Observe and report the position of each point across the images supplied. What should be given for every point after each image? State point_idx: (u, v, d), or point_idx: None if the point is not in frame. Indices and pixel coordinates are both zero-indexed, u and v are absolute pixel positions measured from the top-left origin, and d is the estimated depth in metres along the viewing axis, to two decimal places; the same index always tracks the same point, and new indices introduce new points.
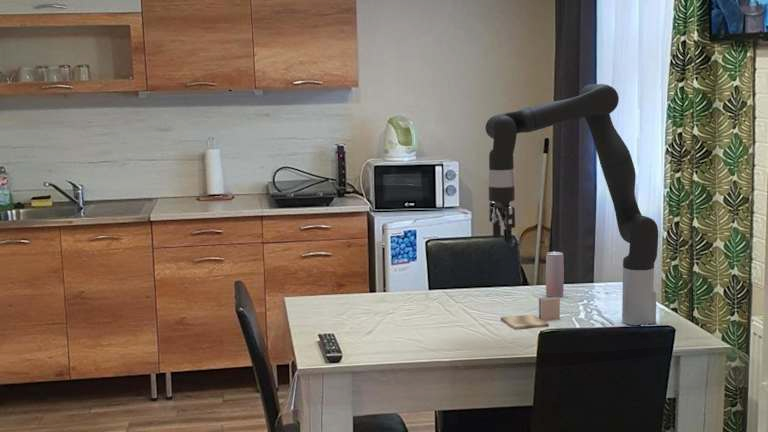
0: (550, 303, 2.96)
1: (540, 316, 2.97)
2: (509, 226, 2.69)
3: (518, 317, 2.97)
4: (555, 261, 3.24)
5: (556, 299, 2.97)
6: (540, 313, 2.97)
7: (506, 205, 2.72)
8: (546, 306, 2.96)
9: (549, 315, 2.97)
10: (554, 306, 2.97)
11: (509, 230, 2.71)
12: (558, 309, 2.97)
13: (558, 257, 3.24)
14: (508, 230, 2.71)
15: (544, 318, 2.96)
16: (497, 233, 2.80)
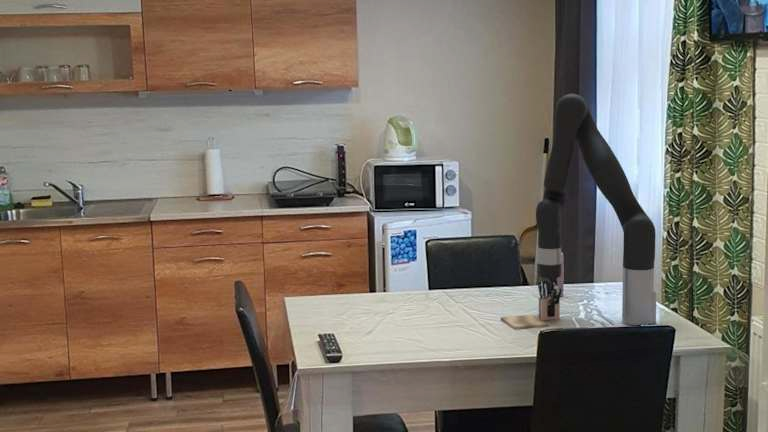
0: None
1: (540, 316, 2.97)
2: (553, 303, 2.93)
3: (518, 317, 2.97)
4: None
5: None
6: (540, 313, 2.97)
7: (554, 281, 2.93)
8: (546, 306, 2.96)
9: None
10: None
11: (553, 306, 2.95)
12: (558, 309, 2.97)
13: None
14: (552, 306, 2.95)
15: (544, 318, 2.97)
16: None
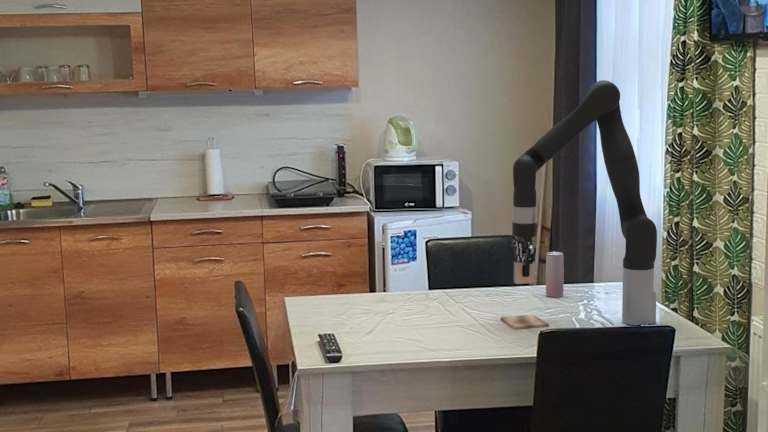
0: None
1: (515, 280, 2.94)
2: (527, 262, 2.89)
3: (518, 317, 2.97)
4: (555, 261, 3.24)
5: None
6: (515, 277, 2.94)
7: (529, 240, 2.89)
8: (521, 269, 2.92)
9: (524, 279, 2.93)
10: None
11: (527, 266, 2.91)
12: (533, 273, 2.94)
13: (558, 257, 3.24)
14: (526, 266, 2.91)
15: (518, 282, 2.93)
16: None
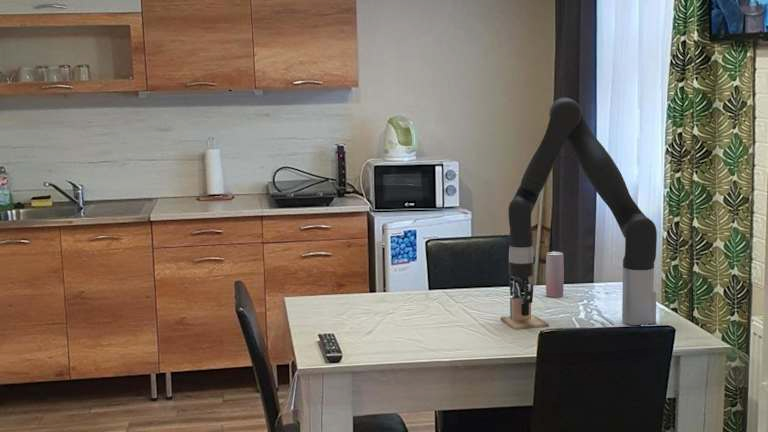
0: (521, 303, 2.94)
1: (511, 316, 2.95)
2: (527, 301, 2.89)
3: None
4: (555, 261, 3.24)
5: None
6: (511, 313, 2.95)
7: (525, 280, 2.90)
8: (517, 306, 2.94)
9: (520, 315, 2.94)
10: None
11: (527, 305, 2.91)
12: (529, 309, 2.95)
13: (558, 257, 3.24)
14: (526, 305, 2.91)
15: (515, 318, 2.94)
16: None
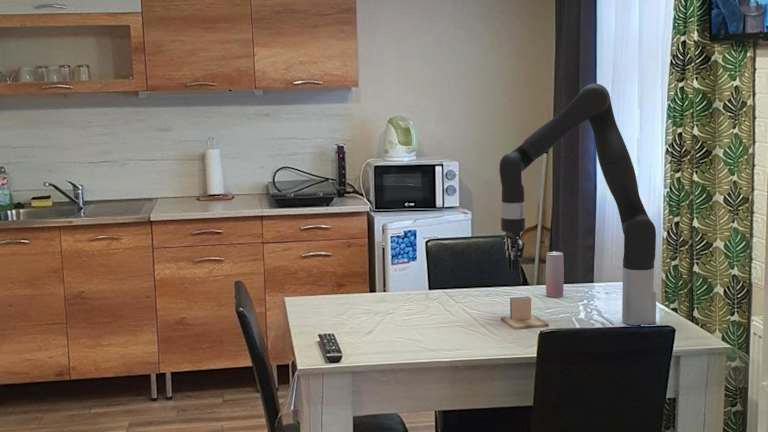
0: (521, 303, 2.94)
1: (511, 316, 2.95)
2: (516, 257, 2.95)
3: None
4: (555, 261, 3.24)
5: (527, 299, 2.94)
6: (511, 313, 2.95)
7: (517, 235, 2.95)
8: (517, 306, 2.94)
9: (520, 315, 2.94)
10: (525, 306, 2.94)
11: (516, 260, 2.97)
12: (529, 309, 2.95)
13: (558, 257, 3.24)
14: (516, 260, 2.97)
15: (515, 318, 2.94)
16: None
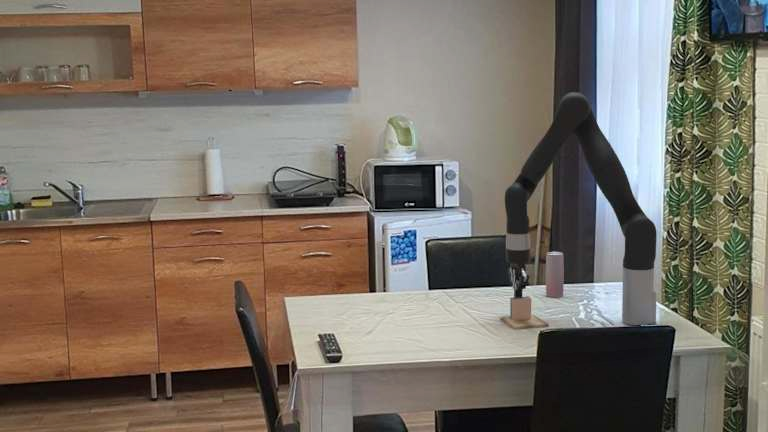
0: (521, 303, 2.94)
1: (511, 316, 2.95)
2: (520, 287, 2.94)
3: None
4: (555, 261, 3.24)
5: (527, 299, 2.94)
6: (511, 313, 2.95)
7: (522, 266, 2.93)
8: (517, 306, 2.94)
9: (520, 315, 2.94)
10: (525, 306, 2.94)
11: (520, 291, 2.96)
12: (529, 309, 2.95)
13: (558, 257, 3.24)
14: (519, 291, 2.96)
15: (515, 318, 2.94)
16: None
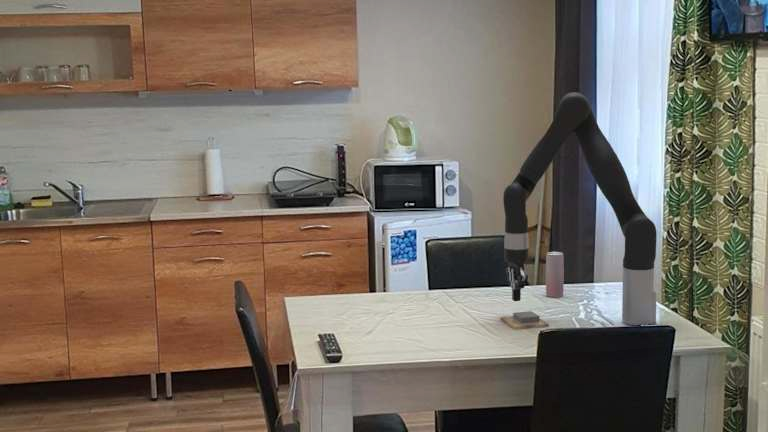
0: None
1: (514, 317, 2.93)
2: (518, 287, 2.94)
3: None
4: (555, 261, 3.24)
5: (535, 323, 2.89)
6: (515, 318, 2.92)
7: (521, 266, 2.93)
8: None
9: None
10: None
11: (518, 290, 2.96)
12: None
13: (558, 257, 3.24)
14: (517, 290, 2.96)
15: None
16: None
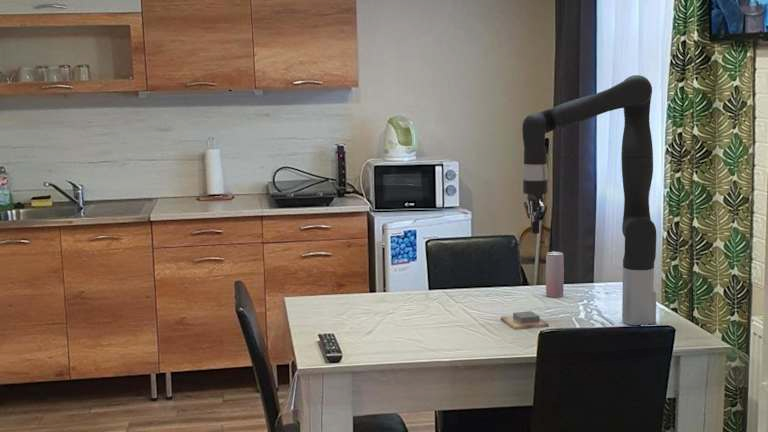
0: None
1: (514, 317, 2.93)
2: (537, 219, 2.92)
3: None
4: (555, 261, 3.24)
5: (535, 323, 2.89)
6: (515, 318, 2.92)
7: (540, 197, 2.91)
8: None
9: None
10: None
11: (537, 222, 2.94)
12: None
13: (558, 257, 3.24)
14: (536, 222, 2.94)
15: None
16: None
